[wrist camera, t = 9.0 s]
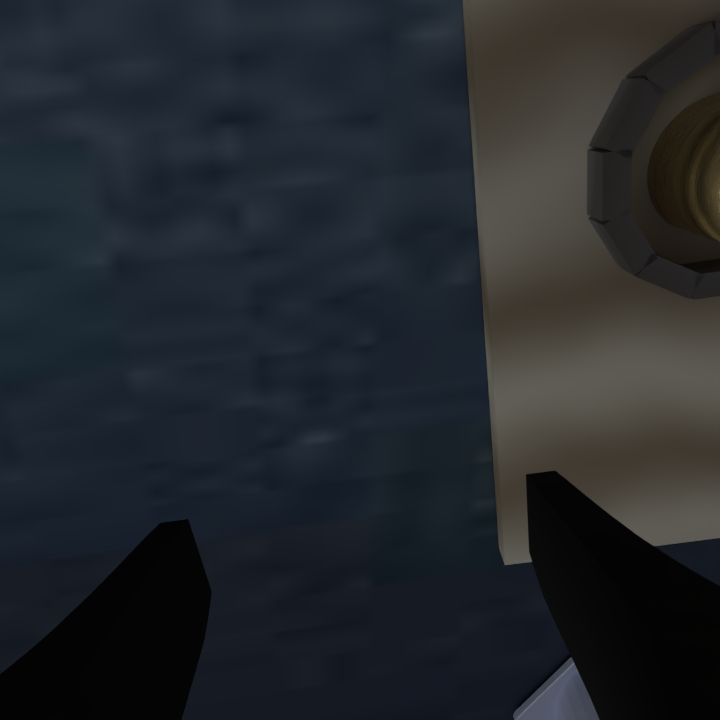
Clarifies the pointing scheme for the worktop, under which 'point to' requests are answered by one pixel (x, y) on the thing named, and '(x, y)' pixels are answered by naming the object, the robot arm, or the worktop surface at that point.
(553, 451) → the jig board
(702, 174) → the brass fitting
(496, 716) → the worktop surface
